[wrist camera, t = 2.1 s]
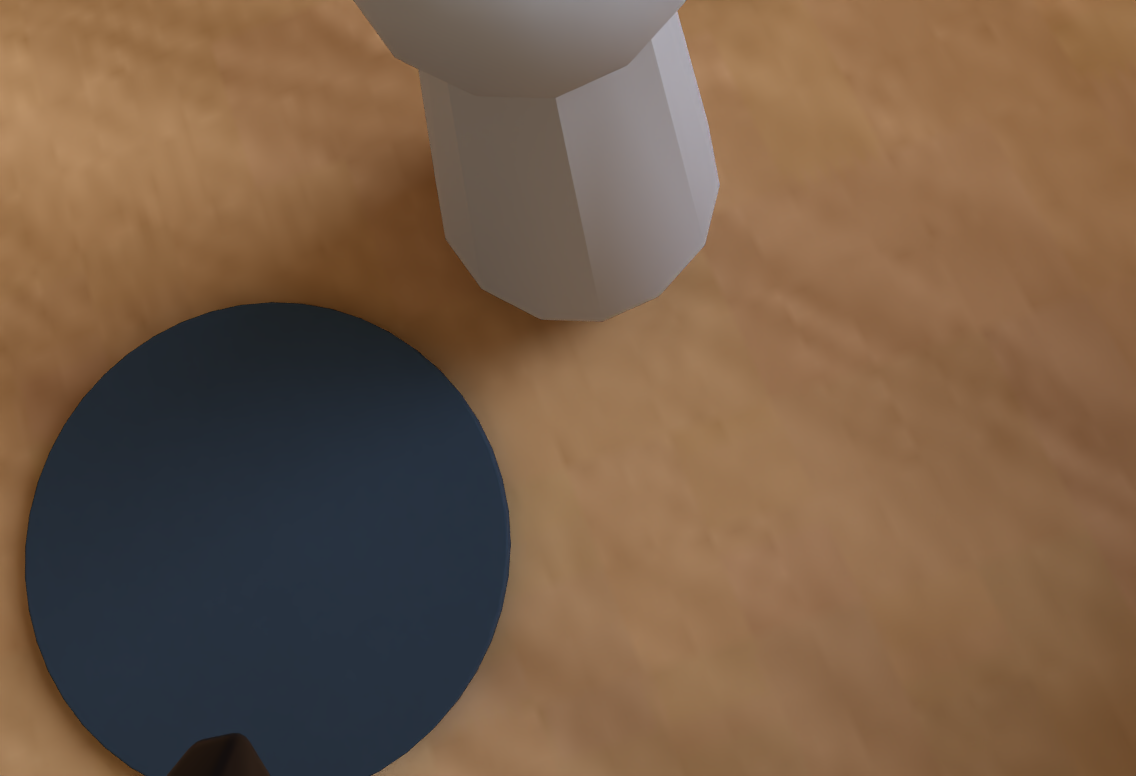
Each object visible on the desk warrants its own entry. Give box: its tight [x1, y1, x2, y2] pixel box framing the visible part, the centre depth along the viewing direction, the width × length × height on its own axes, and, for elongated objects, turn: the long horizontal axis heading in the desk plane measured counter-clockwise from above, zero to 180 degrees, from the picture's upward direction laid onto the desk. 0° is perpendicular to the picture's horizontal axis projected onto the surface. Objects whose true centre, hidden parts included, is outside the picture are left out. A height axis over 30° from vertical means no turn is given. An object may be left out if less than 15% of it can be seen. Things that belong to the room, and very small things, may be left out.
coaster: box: [25, 302, 511, 776], centre depth 21 cm, size 11×11×1 cm
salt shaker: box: [353, 0, 720, 322], centre depth 15 cm, size 6×6×13 cm
